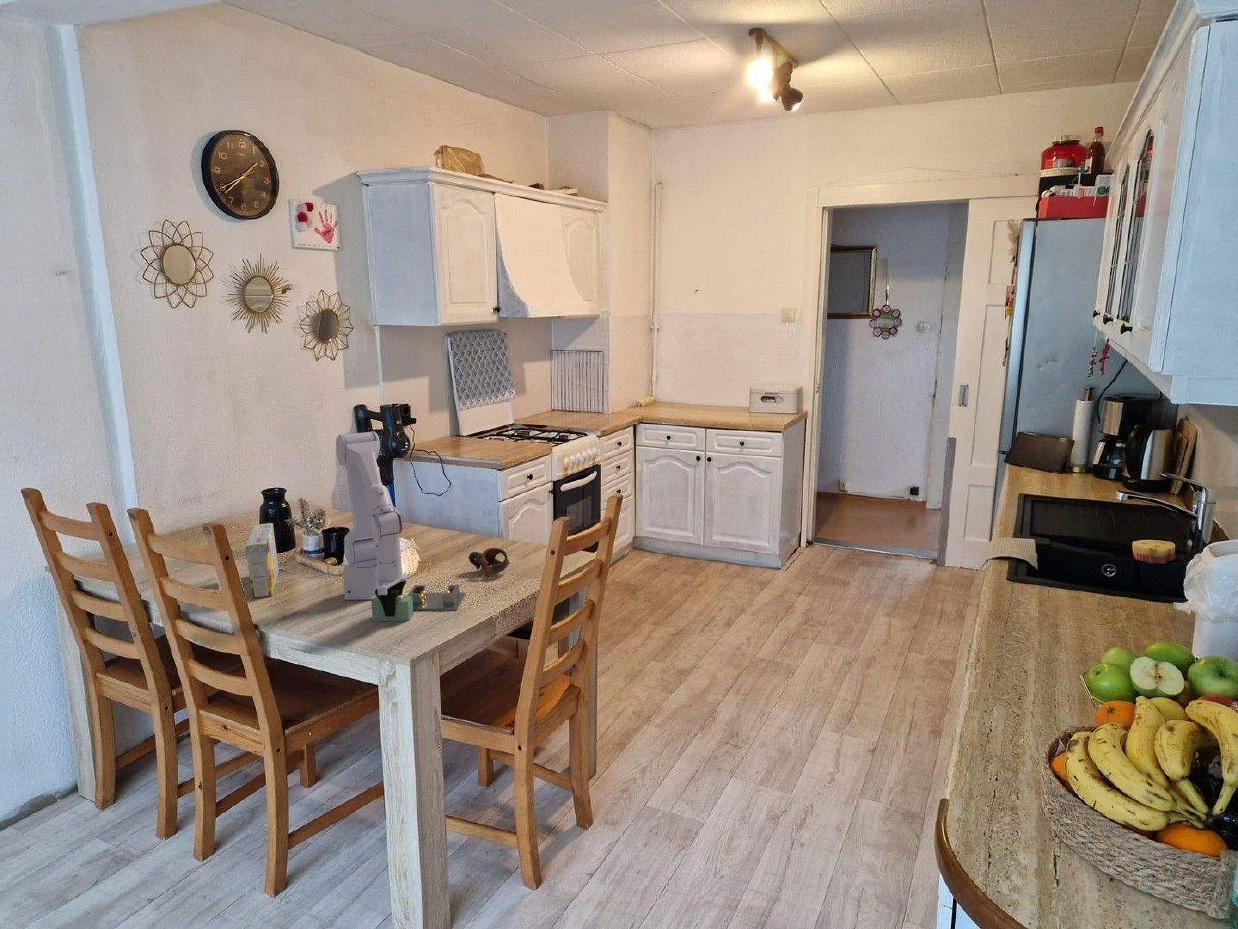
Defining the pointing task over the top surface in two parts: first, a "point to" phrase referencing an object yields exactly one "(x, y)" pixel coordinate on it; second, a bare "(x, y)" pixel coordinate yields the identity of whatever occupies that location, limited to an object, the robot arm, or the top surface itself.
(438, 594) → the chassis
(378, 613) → the green knobbed block
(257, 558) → the snack box
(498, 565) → the dark brown curved piece
